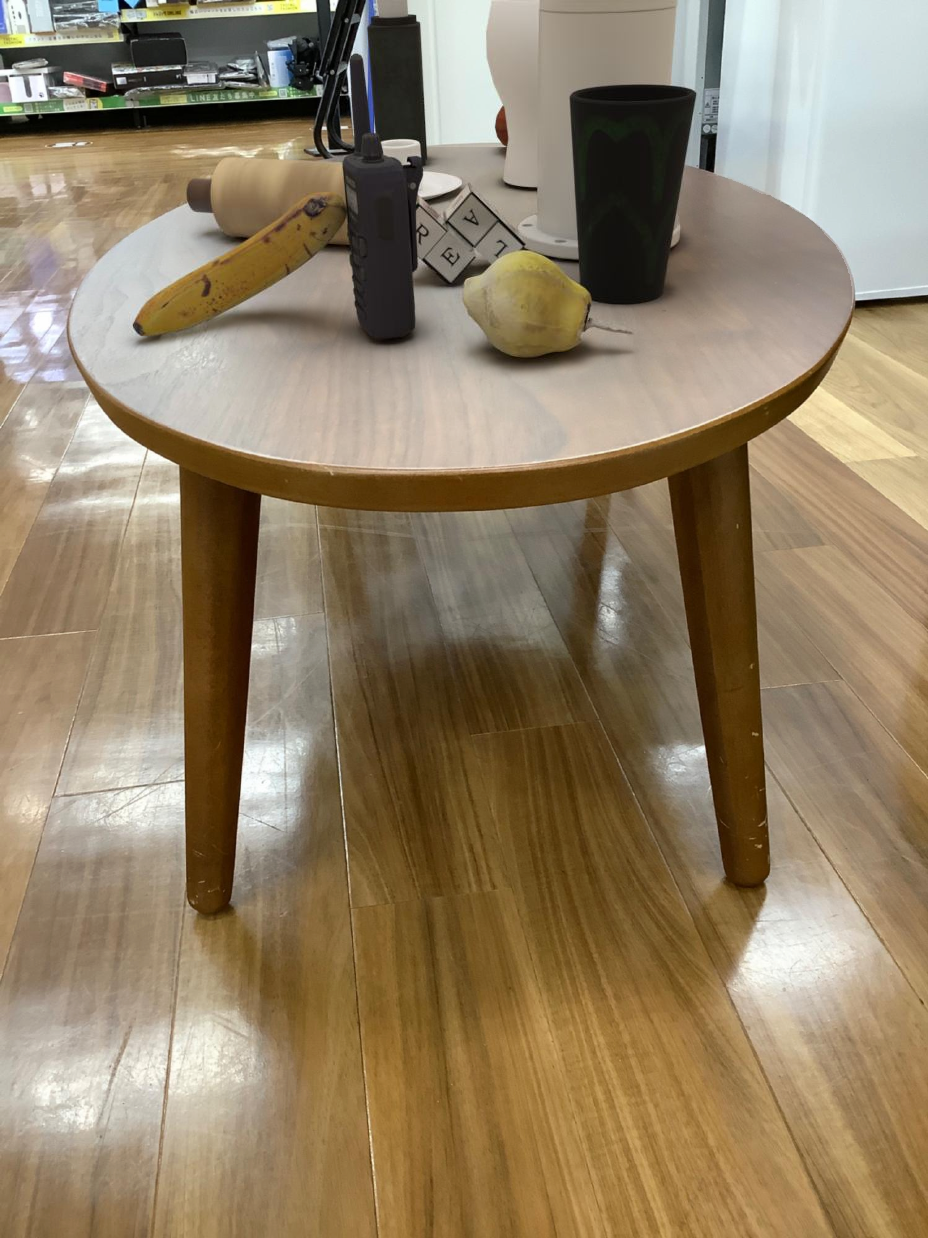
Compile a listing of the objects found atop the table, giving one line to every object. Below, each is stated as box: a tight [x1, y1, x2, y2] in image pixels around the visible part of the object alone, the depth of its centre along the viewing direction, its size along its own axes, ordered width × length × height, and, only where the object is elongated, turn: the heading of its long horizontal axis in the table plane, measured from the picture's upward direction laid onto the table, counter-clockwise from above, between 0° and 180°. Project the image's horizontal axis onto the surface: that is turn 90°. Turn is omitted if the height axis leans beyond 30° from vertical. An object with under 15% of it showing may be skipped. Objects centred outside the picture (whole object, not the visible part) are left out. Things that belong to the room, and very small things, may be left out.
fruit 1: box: [132, 192, 347, 337], centre depth 61 cm, size 15×9×3 cm
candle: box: [366, 0, 428, 166], centre depth 100 cm, size 5×5×25 cm
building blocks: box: [416, 182, 526, 287], centre depth 71 cm, size 5×5×8 cm
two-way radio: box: [341, 53, 424, 341], centre depth 58 cm, size 6×4×15 cm
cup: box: [569, 84, 697, 305], centre depth 65 cm, size 8×8×12 cm
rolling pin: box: [185, 156, 350, 246], centre depth 80 cm, size 19×6×6 cm, turn 69°
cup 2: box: [485, 0, 539, 188], centre depth 92 cm, size 11×11×15 cm
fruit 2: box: [462, 249, 634, 358], centre depth 58 cm, size 6×6×10 cm
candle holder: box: [381, 139, 463, 201], centre depth 94 cm, size 12×12×4 cm
